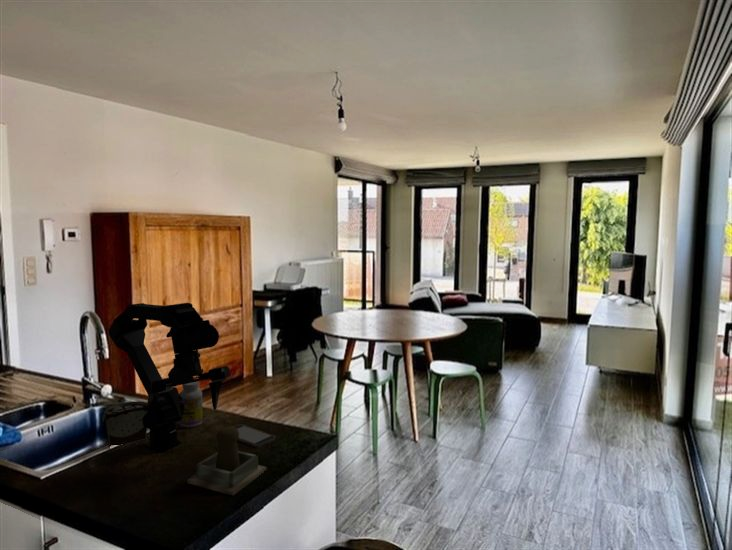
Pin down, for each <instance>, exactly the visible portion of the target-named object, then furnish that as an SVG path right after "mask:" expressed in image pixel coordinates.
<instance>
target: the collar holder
mask: <svg viewBox="0 0 732 550" xmlns="http://www.w3.org/2000/svg"><path fill="white" fill-rule="evenodd" d="M217 453H218V451H216V452H215V453H213V454H212V455H210V456H208V457H206V458H204V459H203V460H201V461H200V462H198V463H197V464H196V474H194V475H192V476H191V477H190V478H188V479H187V484H188V485H194V486H197V487H200V488H204V489H208V490H212V491H214V492H219V493H222V494H226V495H229V496H235V495H236V494H237V493H239V492H240V491H241V490H243V489H244V488H245V487H247V486H248V485H249V484H250V483H252V482H253V481H254V480H255V479H257V478H258V477H260V476H261V475H262V474H264V473H265V472H266V471H267V469H268V468H267V466H264V465H259V456H258V455H257V454H254V453H249V452H246V451H241V450H238V455H239V462H240V466H239V467H238V468H236V469H235V470H233V471H232V472H230V471H226V470H222V469H218V468H216V461H217ZM265 470H266V471H265ZM264 471H265V472H264ZM261 473H262V474H261ZM259 475H260V476H259Z"/></svg>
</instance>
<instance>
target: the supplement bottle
mask: <svg viewBox="0 0 732 550" xmlns="http://www.w3.org/2000/svg"><path fill="white" fill-rule="evenodd" d="M199 386H200V381H197V382H192V383H188V384H183V385H182V386H181V387H182V390H181V391H180V392H179V394H180V396H181V397H182V398H183V399H182V401H183V403H184V411H183V415H182V419H181V421H178V422H179V426H180V427H182V428H195V427H198V426H199V425H201V424H202V423H203V391H202V390H201V389H199Z"/></svg>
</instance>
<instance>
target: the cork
mask: <svg viewBox="0 0 732 550" xmlns="http://www.w3.org/2000/svg"><path fill="white" fill-rule="evenodd" d="M215 438H216V442H217V443H218V446H217V447H218V448H217V452H218V453H217V461H216V468H218V469H222V470H226V471H230V472H232V471H233V470H235V469H236V468H238V467H239V466H240V462H239V455H238V451H239V449H238V441H237V440H238V438H239V432H238V430H237V429H236V428H235V427H234V426H223V427H221V428H219V429H218V431H217V432H216V436H215Z"/></svg>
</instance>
